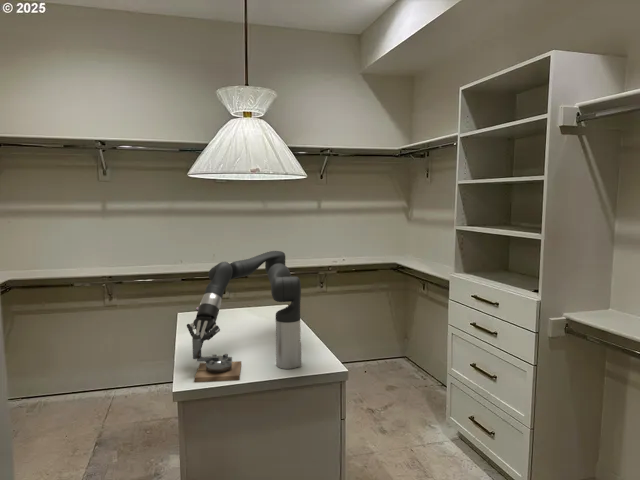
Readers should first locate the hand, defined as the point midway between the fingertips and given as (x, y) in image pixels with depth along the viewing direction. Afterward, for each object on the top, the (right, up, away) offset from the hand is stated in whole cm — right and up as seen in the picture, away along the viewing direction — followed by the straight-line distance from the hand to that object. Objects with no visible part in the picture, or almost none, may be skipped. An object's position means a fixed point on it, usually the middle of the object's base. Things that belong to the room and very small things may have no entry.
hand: (196, 349), depth 161 cm
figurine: (-12, -4, +57) cm, 58 cm away
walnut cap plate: (+8, -8, -1) cm, 12 cm away
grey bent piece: (+6, -7, -1) cm, 9 cm away
